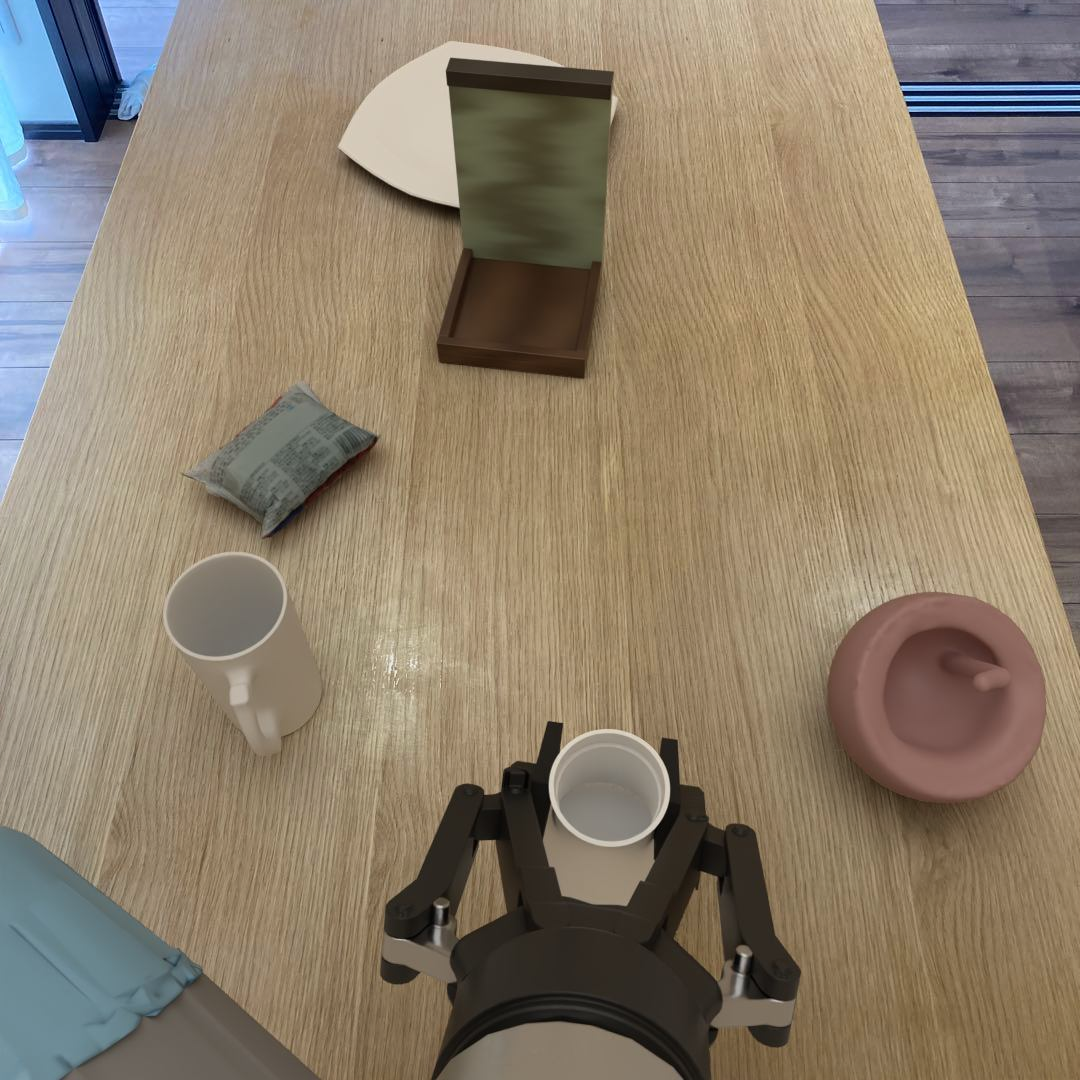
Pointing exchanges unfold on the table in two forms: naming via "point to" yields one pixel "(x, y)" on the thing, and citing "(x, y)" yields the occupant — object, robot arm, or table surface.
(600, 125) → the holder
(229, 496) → the packaged food
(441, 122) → the plate
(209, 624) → the mug
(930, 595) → the mortar and pestle
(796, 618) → the table surface
